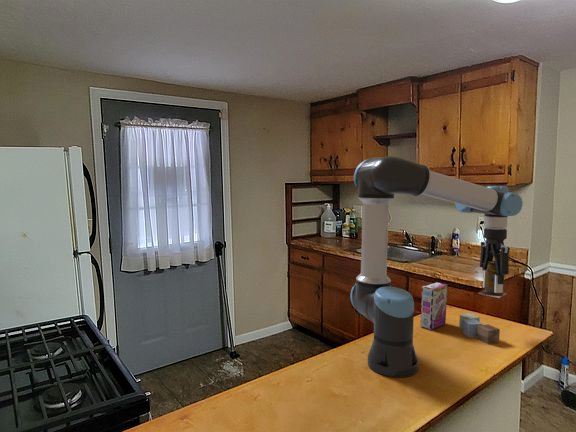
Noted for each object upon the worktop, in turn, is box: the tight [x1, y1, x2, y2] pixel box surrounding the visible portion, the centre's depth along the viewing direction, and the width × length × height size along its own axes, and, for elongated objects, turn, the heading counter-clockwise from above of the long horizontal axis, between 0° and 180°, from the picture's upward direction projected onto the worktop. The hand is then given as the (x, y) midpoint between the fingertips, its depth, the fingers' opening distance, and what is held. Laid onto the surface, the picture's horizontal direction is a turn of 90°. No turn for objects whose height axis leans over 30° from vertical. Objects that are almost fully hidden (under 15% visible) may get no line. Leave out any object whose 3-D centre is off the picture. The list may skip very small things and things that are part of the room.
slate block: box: [461, 319, 483, 338], centre depth 144 cm, size 5×5×5 cm
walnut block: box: [476, 323, 501, 345], centre depth 139 cm, size 5×5×5 cm
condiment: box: [478, 260, 508, 299], centre depth 143 cm, size 7×8×12 cm
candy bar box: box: [419, 282, 448, 331], centre depth 153 cm, size 11×5×16 cm, turn 130°
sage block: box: [458, 312, 481, 329], centre depth 151 cm, size 5×5×5 cm
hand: (492, 289), depth 144 cm, fingers closed on condiment, 6 cm apart
